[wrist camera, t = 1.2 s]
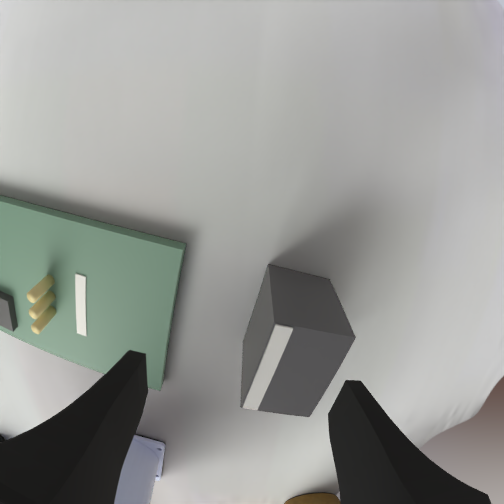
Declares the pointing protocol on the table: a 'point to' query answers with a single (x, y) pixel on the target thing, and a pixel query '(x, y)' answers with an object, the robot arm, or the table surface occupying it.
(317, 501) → the plant pot
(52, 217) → the pcb
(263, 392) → the plug
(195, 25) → the table surface
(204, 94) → the table surface
